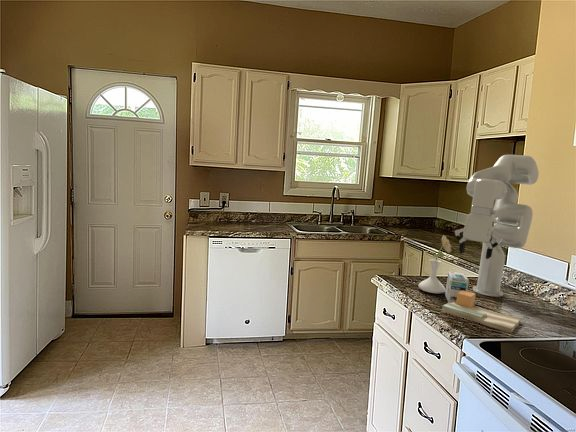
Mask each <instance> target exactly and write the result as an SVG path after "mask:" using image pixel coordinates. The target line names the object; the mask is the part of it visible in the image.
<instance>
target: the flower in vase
mask: <svg viewBox="0 0 576 432" xmlns="http://www.w3.org/2000/svg"><path fill="white" fill-rule="evenodd" d="M441 244H442V246H441V247H440V249H439V250H438V253H437V254H436V253H434V254H433V255H432V257H434V258H436V259H432V258H431V259H429V262H430V266H431V267H430V268H431V272H430V276H429V277H428V278H426V279H424V280H422V281H421V282H419V284H418V288H419V289H420V290H422V291H423V292H427V293H428V294H429V293H430V294H443V293H446V286H444V284H443V283H442V282H441V281H440V280H439V278H437V274H438V273H437V272H438V268H439V266H440V265H441V263H442V261H441V260H439V259H438V258H439V257H440V258H444V256H445V254H444V253H443V252H442V251H441V250H442V249H444V250H445V252H447V253H448V254H449V253H451V252H452V245H451V243H450V240H449V239H448V238H447V236H446V235H444V234H443V235H442V237H441Z"/></svg>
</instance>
